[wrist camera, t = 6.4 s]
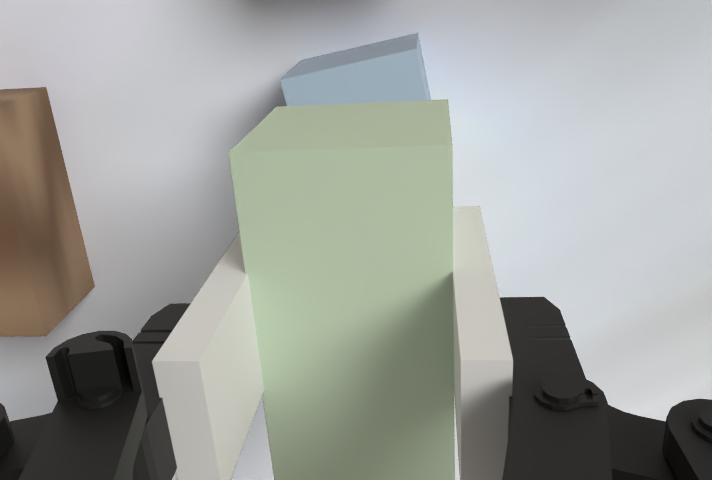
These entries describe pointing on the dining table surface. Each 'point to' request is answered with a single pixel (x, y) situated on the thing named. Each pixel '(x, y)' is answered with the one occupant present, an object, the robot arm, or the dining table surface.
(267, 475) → the dining table surface
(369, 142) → the sage brick
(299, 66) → the blue brick
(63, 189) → the walnut brick
